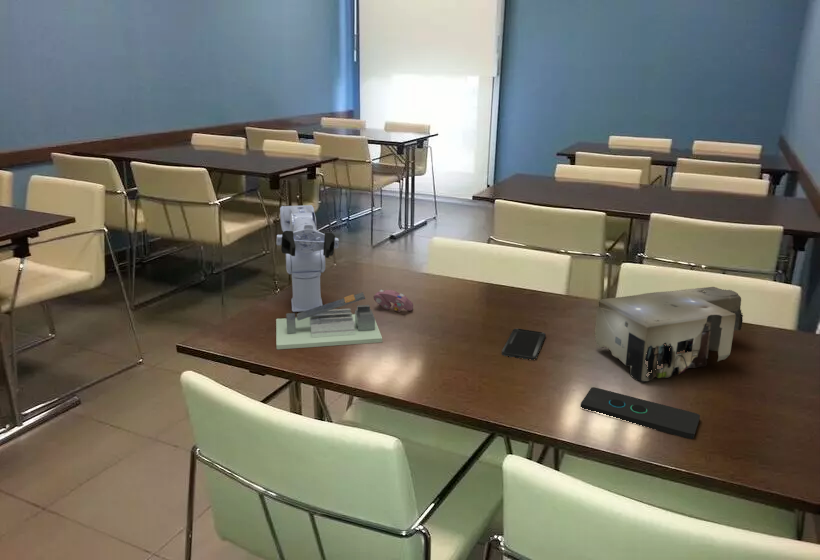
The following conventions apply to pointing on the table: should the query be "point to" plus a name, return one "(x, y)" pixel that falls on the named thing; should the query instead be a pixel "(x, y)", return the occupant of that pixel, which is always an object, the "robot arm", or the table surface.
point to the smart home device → (642, 412)
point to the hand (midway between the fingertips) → (310, 252)
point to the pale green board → (306, 340)
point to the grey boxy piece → (668, 329)
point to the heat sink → (332, 323)
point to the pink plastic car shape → (393, 300)
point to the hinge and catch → (362, 320)
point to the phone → (524, 344)
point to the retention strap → (330, 306)
